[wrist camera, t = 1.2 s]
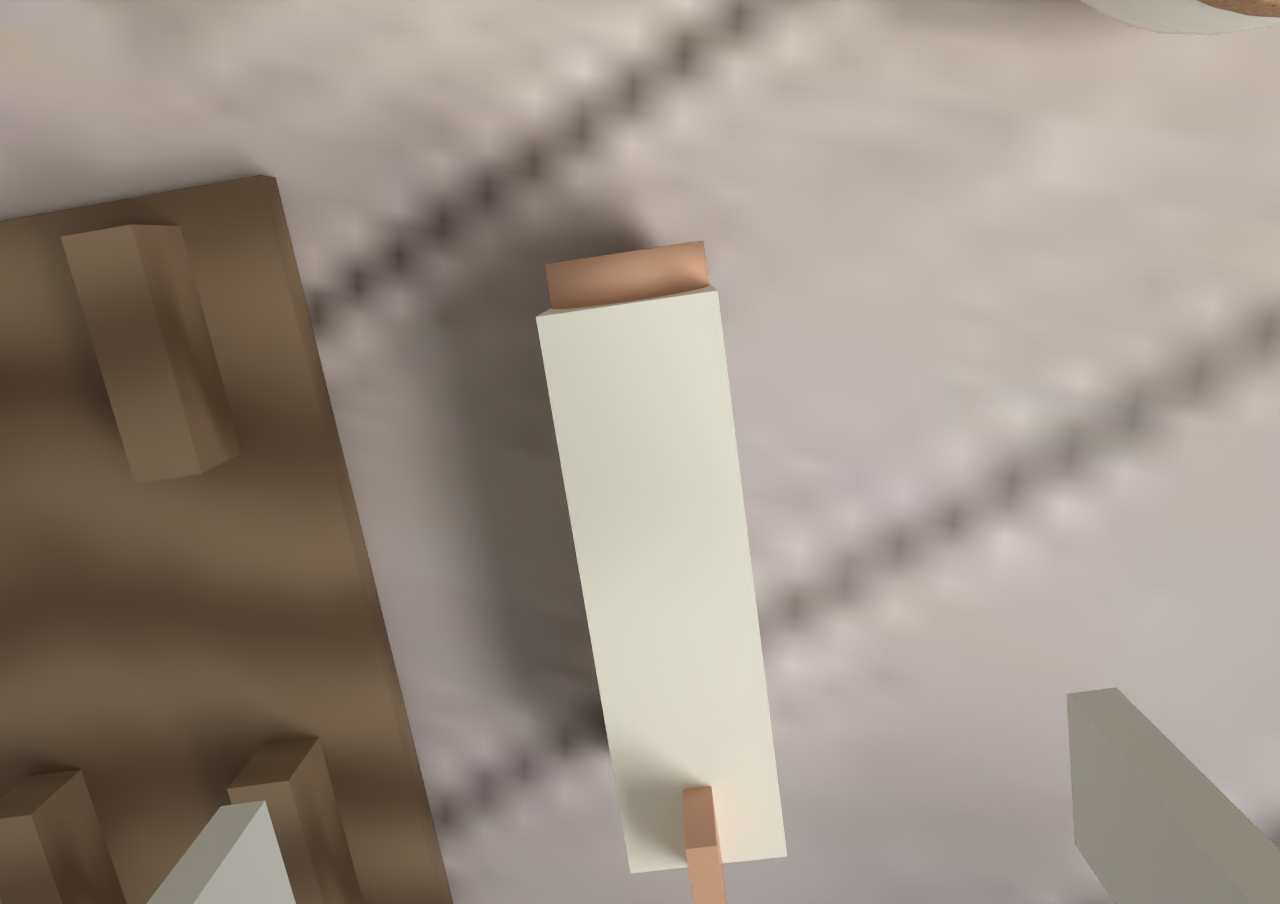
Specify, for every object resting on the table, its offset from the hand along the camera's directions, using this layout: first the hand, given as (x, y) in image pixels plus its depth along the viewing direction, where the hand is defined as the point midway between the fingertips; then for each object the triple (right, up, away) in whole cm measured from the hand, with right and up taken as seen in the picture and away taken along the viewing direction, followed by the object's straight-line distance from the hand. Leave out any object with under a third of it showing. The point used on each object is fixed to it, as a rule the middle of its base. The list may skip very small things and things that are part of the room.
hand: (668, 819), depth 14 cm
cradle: (-17, +1, +16) cm, 23 cm away
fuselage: (+1, +3, +15) cm, 15 cm away
